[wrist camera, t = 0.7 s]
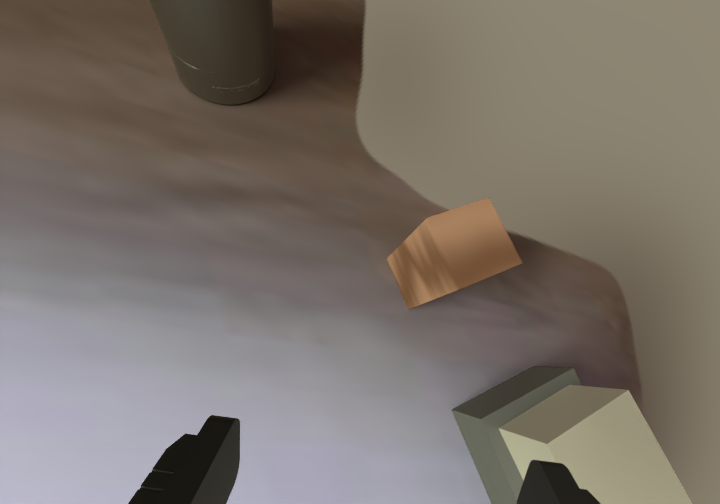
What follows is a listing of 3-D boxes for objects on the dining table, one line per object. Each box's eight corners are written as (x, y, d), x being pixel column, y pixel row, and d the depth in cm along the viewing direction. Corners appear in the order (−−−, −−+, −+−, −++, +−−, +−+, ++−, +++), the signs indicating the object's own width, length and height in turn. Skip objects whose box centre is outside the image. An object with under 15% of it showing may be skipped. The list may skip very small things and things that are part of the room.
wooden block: (386, 258, 32) (427, 217, 23) (432, 241, 34) (489, 197, 24) (408, 309, 31) (460, 289, 22) (454, 290, 33) (522, 263, 23)
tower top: (498, 428, 25) (546, 444, 20) (569, 384, 27) (628, 389, 22) (547, 531, 24) (611, 573, 19) (618, 477, 26) (692, 503, 21)
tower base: (450, 409, 30) (480, 419, 25) (531, 366, 32) (573, 367, 27) (498, 521, 28) (540, 555, 23) (580, 466, 30) (634, 486, 26)
